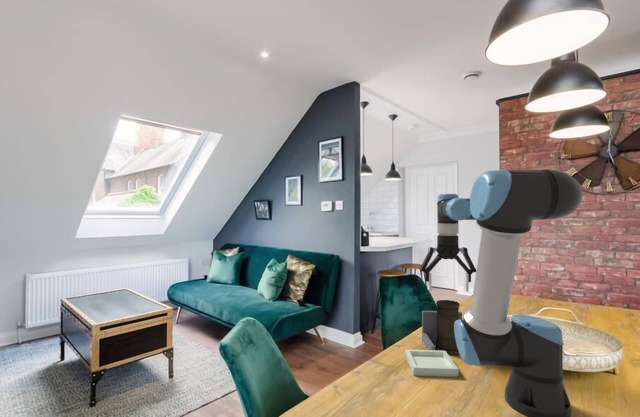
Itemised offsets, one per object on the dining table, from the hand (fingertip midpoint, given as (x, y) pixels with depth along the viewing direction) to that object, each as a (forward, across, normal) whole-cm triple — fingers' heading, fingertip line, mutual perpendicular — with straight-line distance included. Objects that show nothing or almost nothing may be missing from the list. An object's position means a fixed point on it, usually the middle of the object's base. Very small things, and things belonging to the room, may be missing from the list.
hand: (447, 290), depth 127 cm
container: (+23, 0, 0) cm, 23 cm away
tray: (+22, +10, +14) cm, 28 cm away
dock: (+22, 0, -1) cm, 22 cm away
